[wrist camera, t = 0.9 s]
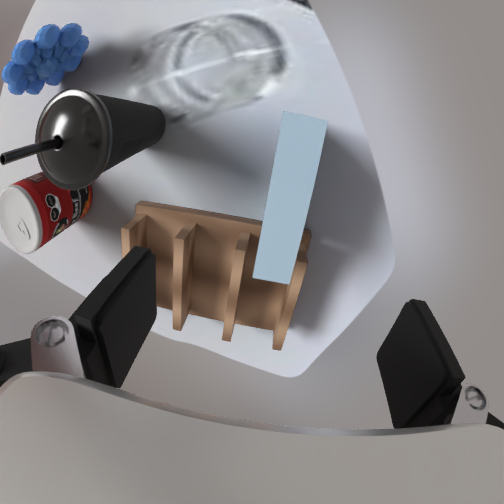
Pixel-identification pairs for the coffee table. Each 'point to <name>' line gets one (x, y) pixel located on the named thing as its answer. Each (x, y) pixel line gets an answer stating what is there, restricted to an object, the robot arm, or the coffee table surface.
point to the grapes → (45, 58)
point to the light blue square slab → (289, 195)
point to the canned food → (40, 211)
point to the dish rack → (213, 268)
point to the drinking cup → (88, 136)
